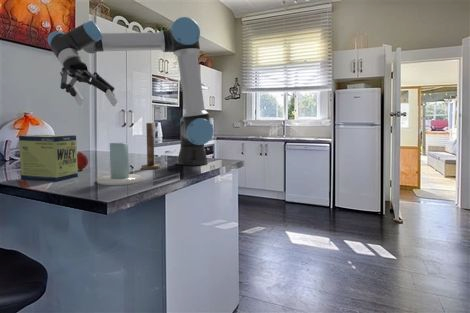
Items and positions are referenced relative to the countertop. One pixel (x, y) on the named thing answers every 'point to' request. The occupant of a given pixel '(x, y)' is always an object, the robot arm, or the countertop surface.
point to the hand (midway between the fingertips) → (99, 102)
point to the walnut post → (150, 148)
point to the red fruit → (81, 161)
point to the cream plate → (119, 180)
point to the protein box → (48, 157)
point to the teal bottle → (119, 160)
